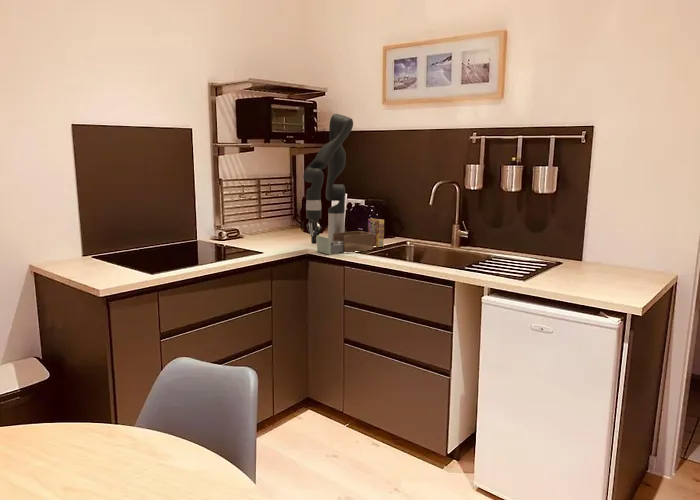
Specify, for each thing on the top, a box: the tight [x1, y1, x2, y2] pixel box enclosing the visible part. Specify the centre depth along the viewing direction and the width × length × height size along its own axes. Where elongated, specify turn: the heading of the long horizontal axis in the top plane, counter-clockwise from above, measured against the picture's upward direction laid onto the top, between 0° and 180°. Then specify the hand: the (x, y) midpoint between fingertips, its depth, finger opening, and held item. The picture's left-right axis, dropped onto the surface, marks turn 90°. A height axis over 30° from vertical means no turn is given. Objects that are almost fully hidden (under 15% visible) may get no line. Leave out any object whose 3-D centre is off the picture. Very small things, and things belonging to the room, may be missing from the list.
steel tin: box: [333, 241, 344, 245], centre depth 274 cm, size 5×5×4 cm
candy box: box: [367, 218, 385, 247], centre depth 289 cm, size 9×4×15 cm, turn 39°
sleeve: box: [333, 230, 374, 253], centre depth 279 cm, size 12×17×9 cm
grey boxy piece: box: [316, 234, 344, 256], centre depth 274 cm, size 13×17×8 cm
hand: (313, 243), depth 267 cm, fingers closed
